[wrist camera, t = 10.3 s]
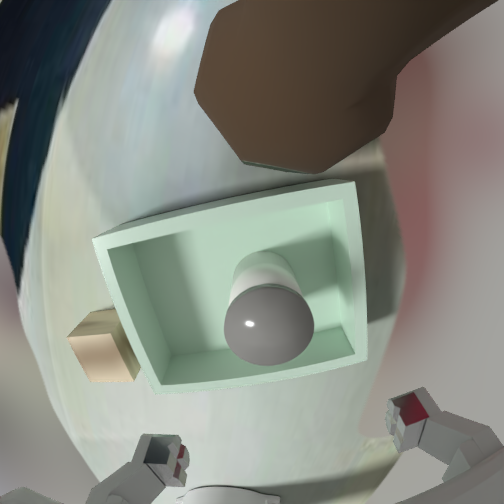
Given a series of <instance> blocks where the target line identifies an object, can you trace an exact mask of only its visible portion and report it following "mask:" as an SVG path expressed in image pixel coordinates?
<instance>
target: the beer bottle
mask: <svg viewBox="0 0 504 504" xmlns="http://www.w3.org/2000/svg"><path fill="white" fill-rule="evenodd" d="M497 1H498V0H238V1H236V2H234V3H232V4H230V5H228V6H226V7H224V8H223V9H221V10H219V11H218V13H217V14H216V16H215V18H214V19H213V21H212V23H211V25H210V28H209V32H208V35H207V39H206V43H205V46H204V50H203V54H202V58H201V62H200V67H199V71H198V75H197V79H196V84H195V88H194V94H195V96H196V99H197V101H198V104H199V105H200V106H201V108H202V109H203V110H204V112H205V113H206V114H207V116H208V117H209V118H210V119H211V121H212V122H213V123H214V125H215V126H216V127H217V129H218V130H219V131H220V133H221V134H222V135H223V137H224V138H225V139H226V141H227V142H228V144H229V145H230V146H231V148H232V149H233V150H234V152H235V153H236V154H237V156H238V157H239V159H240V160H241V161H242V162H243V163H244V164H246V165H252V166H257V167H263V168H269V169H274V170H279V171H284V172H293V173H304V174H317V173H321V172H324V171H326V170H327V169H329V168H330V167H332V166H333V165H335V164H336V163H338V162H339V161H341V160H343V159H344V158H346V157H347V156H349V155H350V154H352V153H353V152H355V151H356V150H358V149H359V148H361V147H363V146H364V145H366V144H367V143H369V142H370V141H372V140H374V139H375V138H377V137H378V136H380V135H381V134H383V133H384V132H385V131H386V129H387V127H388V125H389V123H390V121H391V119H392V117H393V108H394V100H395V90H396V79H397V75H398V74H399V73H400V72H401V70H402V69H403V68H404V67H405V66H406V64H407V63H408V62H409V61H410V60H411V59H413V58H414V57H415V56H417V55H418V54H420V53H421V52H422V51H424V50H425V49H426V48H428V47H429V46H431V45H432V44H433V43H435V42H436V41H438V40H439V39H441V38H442V37H443V36H445V35H446V34H448V33H449V32H451V31H452V30H454V29H455V28H456V27H458V26H459V25H461V24H462V23H464V22H465V21H467V20H468V19H470V18H471V17H473V16H475V15H476V14H478V13H479V12H481V11H482V10H484V9H485V8H487V7H489V6H490V5H491V4H493V3H495V2H497Z"/></svg>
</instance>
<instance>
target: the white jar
mask: <svg viewBox="0 0 504 504" xmlns="http://www.w3.org/2000/svg"><path fill="white" fill-rule="evenodd" d="M313 333H314V319H313V315H312V312H311V310H310V308H309V305H308V304H307V302H306V300H305V299H304V297H303V295H302V292H301V290H300V287H299V285H298V282H297V280H296V277H295V275H294V272H293V270H292V268H291V266H290V264H289V263H288V261H287V260H286V259H285V258H283V257H282V256H281V255H279V254H277V253H274V252H270V251H257V252H254V253H251V254H249V255H247V256H245V257H244V258H243V259H242V260H241V261H240V262H239V263H238V264H237V266H236V268H235V270H234V273H233V279H232V285H231V292H230V299H229V306H228V310H227V312H226V316H225V322H224V336H225V340H226V342H227V344H228V346H229V348H230V349H231V350H232V352H234V353H235V354H236V355H237V356H238V357H239V358H241V359H243V360H244V361H246V362H249V363H252V364H255V365H260V366H273V365H279V364H283V363H286V362H288V361H290V360H292V359H294V358H296V357H297V356H298V355H300V354H301V353H302V352H303V351H304V350H305V349H306V348H307V346H308V345H309V343H310V341H311V339H312V337H313Z"/></svg>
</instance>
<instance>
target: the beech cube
mask: <svg viewBox="0 0 504 504" xmlns="http://www.w3.org/2000/svg"><path fill="white" fill-rule="evenodd" d="M67 339H68V341H69V343H70V345H71V347H72V349H73V351H74V353H75V355H76V357H77V359H78V361H79V362H80V364H81V366H82V368H83V370H84V372H85V373H86V375H87V377H88V379H89V380H90V382H134V380H135V378H136V376H137V374H138V372H139V370H140V368H141V366H140V364H139V362H138V360H137V357H136V355H135V353H134V351H133V349H132V347H131V344H130V342H129V340H128V338H127V335H126V333H125V331H124V328H123V326H122V323H121V321H120V319H119V316H118V314H117V311H116V309H110V310H103V311H96V312H90V313H89V314H88V315H87V316H86V317H85V318H84V319H83V320H82V322H81V323H80V324H79V325H78V326H77V327H76V328H75V329H74V330H73V331H72V332H71V333H70V334H69V335H68V336H67Z"/></svg>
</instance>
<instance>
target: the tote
mask: <svg viewBox="0 0 504 504" xmlns="http://www.w3.org/2000/svg"><path fill="white" fill-rule="evenodd" d="M92 241H93V245H94V248H95V251H96V255H97V258H98V261H99V264H100V267H101V270H102V273H103V276H104V279H105V282H106V285H107V287H108V290H109V293H110V296H111V298H112V301H113V303H114V306H115V309H116V311H117V314H118V316H119V319H120V321H121V323H122V326H123V328H124V331H125V333H126V335H127V338H128V340H129V342H130V344H131V347H132V349H133V351H134V353H135V355H136V357H137V360H138V362H139V364H140V366H141V368H142V370H143V372H144V374H145V376H146V378H147V380H148V382H149V384H150V386H151V388H152V390H153V391H154V393H155V394H172V393H187V392H199V391H210V390H219V389H228V388H236V387H243V386H250V385H257V384H263V383H269V382H275V381H280V380H286V379H291V378H296V377H301V376H306V375H311V374H315V373H320V372H324V371H328V370H332V369H336V368H340V367H344V366H348V365H352V364H355V363H359V362H363V361H366V360H367V303H366V282H365V267H364V254H363V243H362V233H361V224H360V215H359V207H358V200H357V193H356V186H355V182H354V181H348V180H341V179H334V178H333V179H327V180H320V181H315V182H309V183H303V184H297V185H292V186H286V187H281V188H276V189H270V190H265V191H260V192H255V193H250V194H245V195H241V196H236V197H231V198H227V199H222V200H217V201H213V202H208V203H204V204H200V205H195V206H191V207H187V208H183V209H179V210H174V211H170V212H166V213H162V214H158V215H155V216H151V217H147V218H143V219H139V220H135V221H132V222H128V223H124V224H121V225H118V226H116V227H114V228H112V229H110V230H108V231H106V232H104V233H102V234H100V235H98V236H96V237H94V238H92ZM257 251H270V252H274V253H277V254H279V255H281V256H282V257H283V258H285V259H286V260H287V261H288V263H289V264H290V266H291V268H292V270H293V272H294V275H295V277H296V280H297V282H298V285H299V287H300V290H301V292H302V295H303V297H304V299H305V300H306V302H307V304H308V305H309V308H310V310H311V312H312V315H313V319H314V333H313V337H312V339H311V341H310V343H309V345H308V346H307V348H306V349H305V350H304V351H303V352H302V353H301V354H300V355H298V356H297V357H296V358H294V359H292V360H290V361H288V362H286V363H283V364H279V365H273V366H260V365H255V364H252V363H249V362H246V361H244V360H243V359H241V358H239V357H238V356H237V355H236V354H235V353H234V352H232V350H231V349H230V348H229V346H228V344H227V342H226V340H225V336H224V322H225V316H226V312H227V310H228V306H229V299H230V292H231V285H232V279H233V273H234V270H235V268H236V266H237V264H238V263H239V262H240V261H241V260H242V259H243V258H244V257H245V256H247V255H249V254H251V253H254V252H257Z"/></svg>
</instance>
